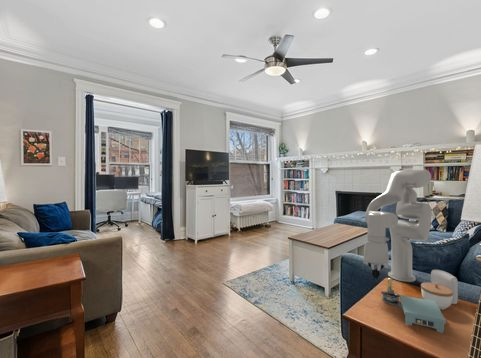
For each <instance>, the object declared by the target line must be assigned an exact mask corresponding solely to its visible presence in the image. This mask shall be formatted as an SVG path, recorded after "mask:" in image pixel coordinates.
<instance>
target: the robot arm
mask: <svg viewBox="0 0 481 358" xmlns="http://www.w3.org/2000/svg"><path fill="white" fill-rule="evenodd" d="M431 181H432V174H431V172H430V171H429V170H428V169H401V170H397V171H394V172H392V173H391V174H390V176H389V177H388V181H387V183H386V186H385V188H384V191H383V193H382V194H380V195H378V196H376V198H374V199H372V200H371V202H370V203H369V204H368V206H367V208H366V211H365V214H364V215H365V216H364V221H365V223H366V224H367V230H366V231H367V234H366V235H367V237H366V238H367V239H366V240H365V241H364V247H363V261H362V263H363V264H364V265H366V266H369V268H370V269H371V276H373V279H374V280H375V279H376V280H378V278H379V277H380V271H381V270H383V269H386V268H390V264H391V268H390V271H388V272H387V276H388V278H392V280H395V281H398V282H404V283H413V282H416V276H415V275H413V245H412V243H411V241H410V240H413V241H418V242H425V241H427V240H428V238H429V235H430V230H431V225H432V216H433V212H432V207H431V205H430V204H428V203H426V202H419V201H417V199H418V198H417V197H418V193H417V192H416V190H415V189H418V188H419V189H420V188H423V187H426V186H427V185H429V184H430V182H431ZM393 204H396V207H395V208H396V209H395V212H390V211H389V212H387V211H383V210H382V211H380V209H382V207H385V206H386V207H387V206H388V205H389V206H390V205H393ZM399 218H400V219H399ZM404 219H405V220H404ZM412 220H413V221H412ZM386 229H389V232H390V237H387V233H386V231H387V230H386ZM390 239H391V241H390ZM387 242H391V243H390V244H391V245H390V246H391V251H390V252H391V254H390V255H391V256H390V257H391V258H390V259H389V247H388V243H387ZM390 260H391V261H390ZM389 261H390V262H391V263H390V264H389ZM374 264H375V265H377V266H376V267H375V265H374Z"/></svg>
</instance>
